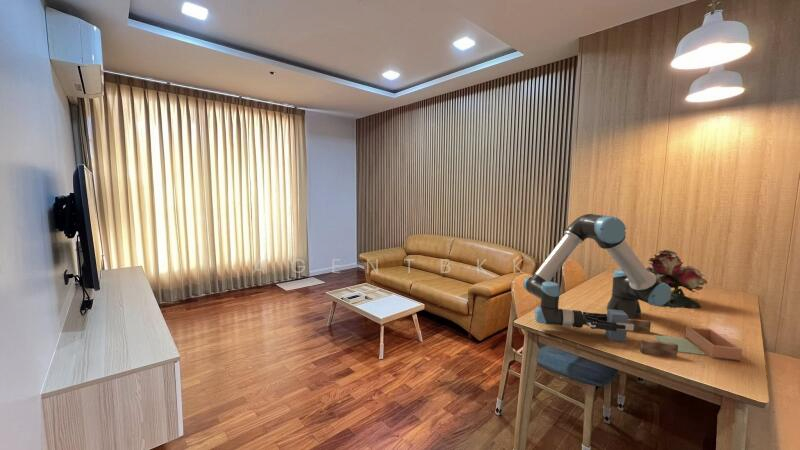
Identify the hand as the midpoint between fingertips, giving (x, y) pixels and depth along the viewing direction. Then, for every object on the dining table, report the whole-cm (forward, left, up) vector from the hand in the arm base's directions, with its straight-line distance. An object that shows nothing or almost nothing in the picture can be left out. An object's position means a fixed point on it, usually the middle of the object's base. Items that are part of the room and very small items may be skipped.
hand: (629, 324), depth 142 cm
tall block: (+5, 0, -7) cm, 9 cm away
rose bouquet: (-42, -63, -7) cm, 77 cm away
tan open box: (-30, 0, -7) cm, 31 cm away
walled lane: (-6, 0, -7) cm, 9 cm away
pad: (-18, 0, -7) cm, 20 cm away
